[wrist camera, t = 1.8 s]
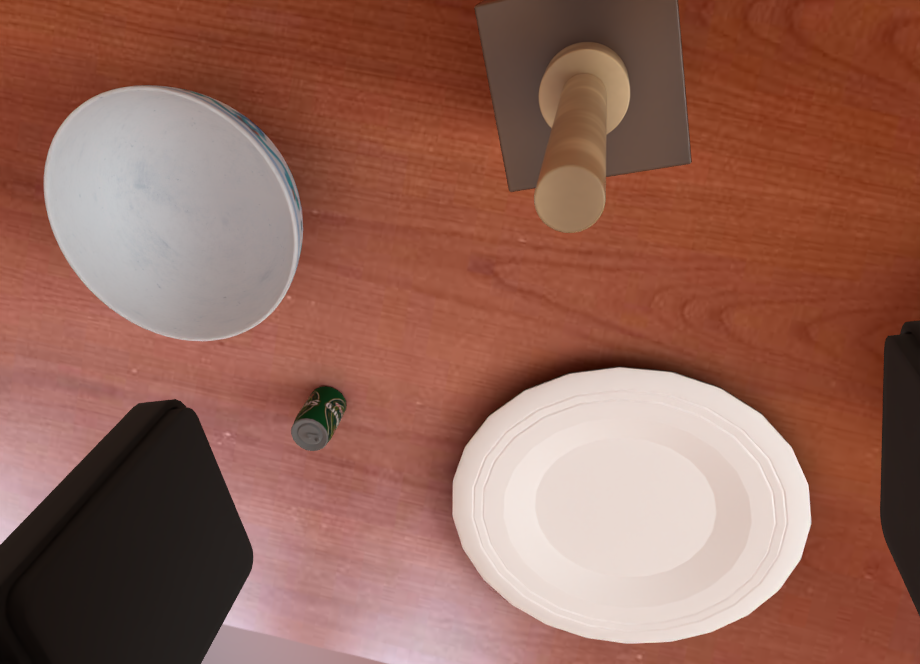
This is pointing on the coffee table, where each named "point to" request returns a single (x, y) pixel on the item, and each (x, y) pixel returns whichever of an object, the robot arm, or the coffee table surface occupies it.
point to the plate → (631, 505)
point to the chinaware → (174, 211)
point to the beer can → (318, 418)
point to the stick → (579, 133)
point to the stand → (573, 21)
